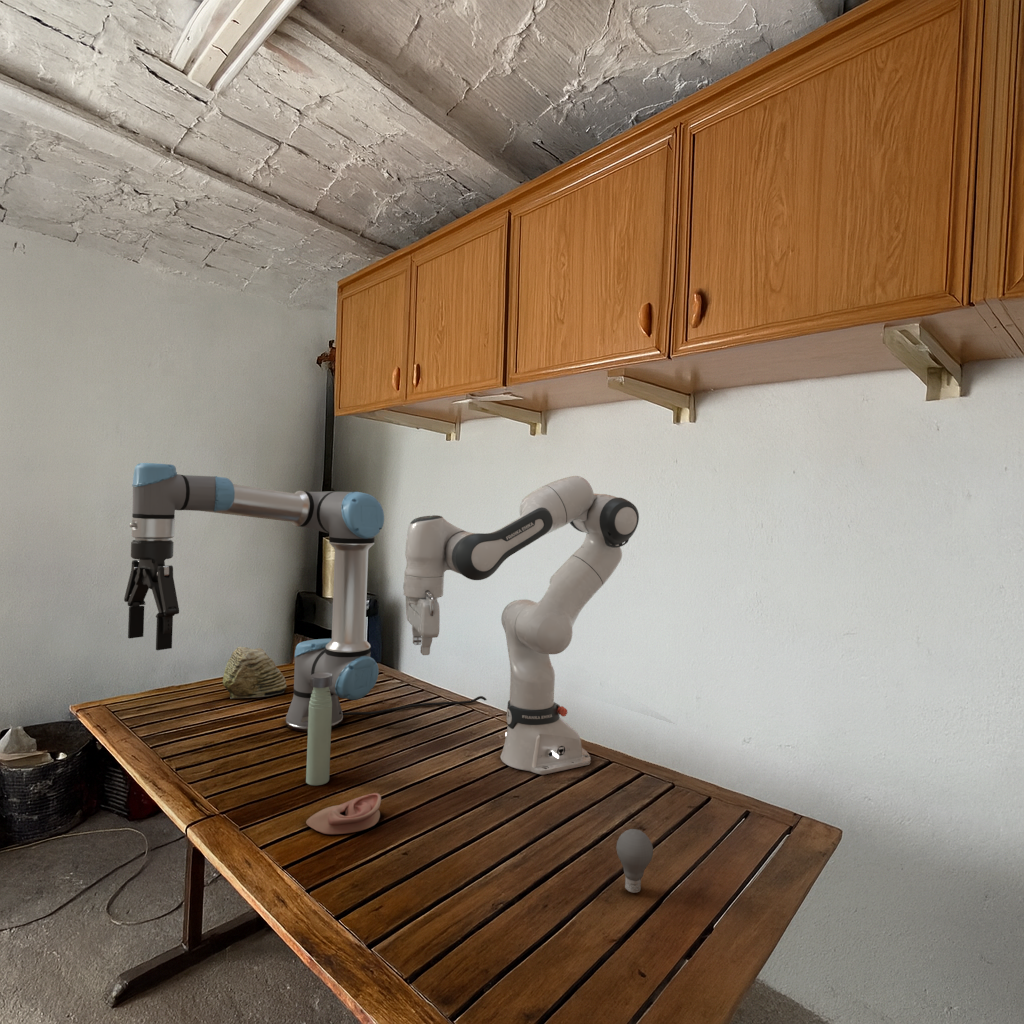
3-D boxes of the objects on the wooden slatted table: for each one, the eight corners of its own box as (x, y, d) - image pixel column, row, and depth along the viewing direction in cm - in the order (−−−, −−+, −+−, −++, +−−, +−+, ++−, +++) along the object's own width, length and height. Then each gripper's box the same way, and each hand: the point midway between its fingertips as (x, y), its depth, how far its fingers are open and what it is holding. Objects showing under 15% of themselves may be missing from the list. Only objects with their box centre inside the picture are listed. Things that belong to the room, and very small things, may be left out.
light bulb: (610, 879, 108) (613, 822, 108) (644, 879, 109) (647, 822, 109) (619, 902, 102) (622, 840, 102) (655, 901, 103) (658, 840, 103)
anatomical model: (298, 809, 120) (327, 783, 131) (297, 830, 120) (327, 802, 131) (363, 819, 117) (388, 791, 128) (362, 840, 117) (387, 811, 128)
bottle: (334, 779, 142) (338, 676, 142) (317, 787, 138) (322, 681, 137) (317, 773, 145) (321, 672, 144) (301, 782, 140) (305, 677, 140)
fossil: (218, 695, 195) (220, 647, 195) (278, 685, 208) (279, 640, 207) (228, 703, 189) (230, 653, 188) (289, 692, 201) (290, 645, 201)
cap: (336, 684, 142) (337, 674, 142) (321, 689, 138) (322, 679, 138) (321, 680, 144) (321, 671, 144) (305, 685, 140) (306, 675, 140)
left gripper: (108, 535, 134) (105, 635, 134) (159, 544, 118) (155, 657, 118) (146, 534, 140) (143, 630, 140) (200, 543, 124) (196, 651, 124)
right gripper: (448, 595, 133) (445, 660, 133) (428, 581, 152) (425, 638, 152) (418, 595, 131) (415, 661, 131) (402, 581, 150) (399, 639, 150)
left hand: (149, 643), depth 129 cm, fingers open, 13 cm apart
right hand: (420, 649), depth 142 cm, fingers open, 8 cm apart
